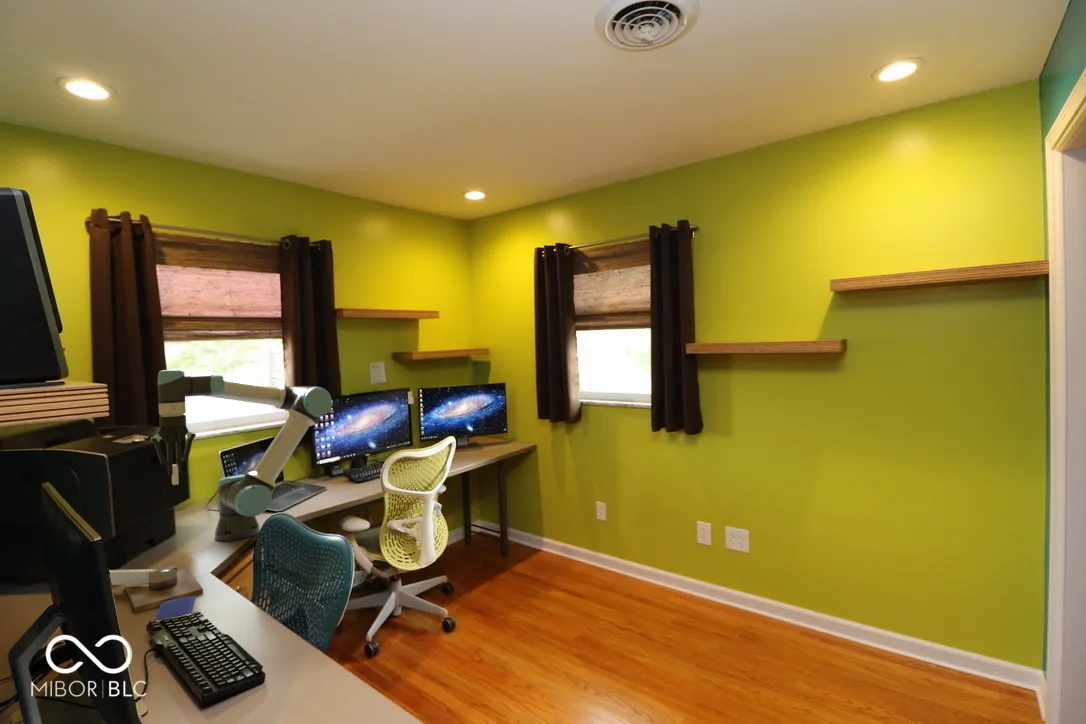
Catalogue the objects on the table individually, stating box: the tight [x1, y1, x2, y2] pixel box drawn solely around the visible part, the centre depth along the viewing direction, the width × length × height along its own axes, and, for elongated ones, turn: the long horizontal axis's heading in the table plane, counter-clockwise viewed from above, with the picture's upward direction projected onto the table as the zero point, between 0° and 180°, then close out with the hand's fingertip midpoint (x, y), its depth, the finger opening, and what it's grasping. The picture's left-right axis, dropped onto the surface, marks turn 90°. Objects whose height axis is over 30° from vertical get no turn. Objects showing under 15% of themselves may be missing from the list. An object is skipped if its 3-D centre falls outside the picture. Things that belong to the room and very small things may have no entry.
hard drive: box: [153, 596, 197, 622], centre depth 149 cm, size 2×8×12 cm
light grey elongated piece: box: [108, 565, 178, 590], centre depth 163 cm, size 23×7×5 cm, turn 89°
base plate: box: [124, 567, 204, 613], centre depth 162 cm, size 16×22×2 cm
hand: (175, 483), depth 186 cm, fingers closed
